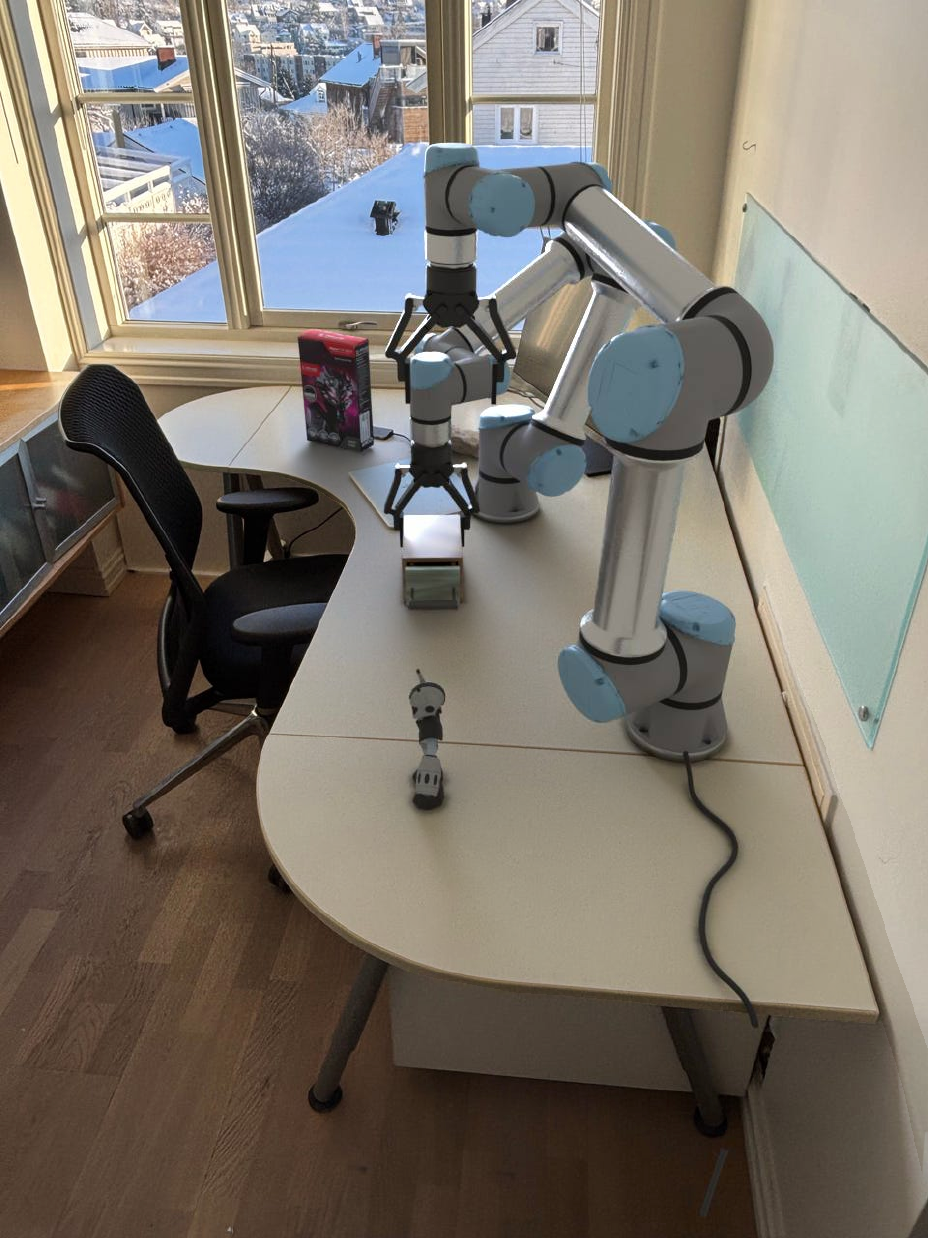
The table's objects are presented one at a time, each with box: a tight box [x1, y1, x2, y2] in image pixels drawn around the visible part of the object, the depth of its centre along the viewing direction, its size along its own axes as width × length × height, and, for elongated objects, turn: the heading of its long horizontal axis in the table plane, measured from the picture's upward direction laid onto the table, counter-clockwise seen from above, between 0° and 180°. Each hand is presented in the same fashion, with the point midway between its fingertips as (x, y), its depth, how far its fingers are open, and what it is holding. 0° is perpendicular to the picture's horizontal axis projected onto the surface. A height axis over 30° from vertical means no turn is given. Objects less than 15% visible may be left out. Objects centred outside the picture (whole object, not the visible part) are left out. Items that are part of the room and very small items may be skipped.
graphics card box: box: [297, 328, 375, 454], centre depth 227 cm, size 17×7×27 cm, turn 62°
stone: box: [450, 424, 479, 458], centre depth 231 cm, size 21×15×6 cm
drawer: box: [405, 562, 461, 611], centre depth 172 cm, size 22×10×8 cm, turn 2°
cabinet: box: [401, 514, 464, 604], centre depth 177 cm, size 17×11×10 cm, turn 2°
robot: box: [408, 668, 446, 810], centre depth 126 cm, size 20×5×20 cm, turn 3°
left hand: (432, 543), depth 182 cm, fingers closed on cabinet, 11 cm apart
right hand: (450, 401), depth 147 cm, fingers open, 13 cm apart
